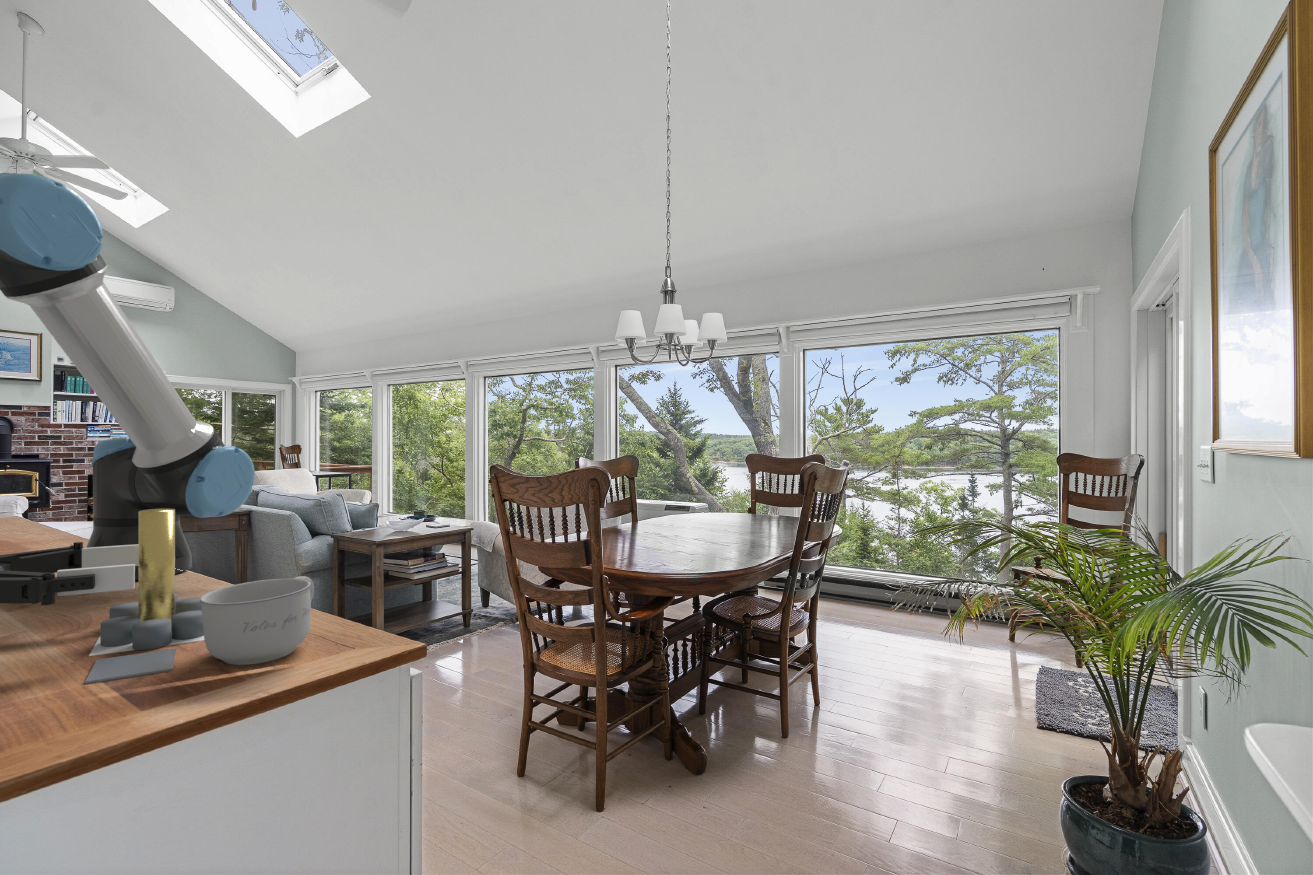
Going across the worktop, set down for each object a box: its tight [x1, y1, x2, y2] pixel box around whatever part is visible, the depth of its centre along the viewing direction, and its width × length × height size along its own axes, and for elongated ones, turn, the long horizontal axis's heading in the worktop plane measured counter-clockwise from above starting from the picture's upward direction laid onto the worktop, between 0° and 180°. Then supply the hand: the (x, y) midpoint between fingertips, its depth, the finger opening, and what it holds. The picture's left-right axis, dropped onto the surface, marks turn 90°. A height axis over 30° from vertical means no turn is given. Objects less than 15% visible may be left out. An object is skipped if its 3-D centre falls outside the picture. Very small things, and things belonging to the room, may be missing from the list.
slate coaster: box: [84, 648, 178, 685], centre depth 70 cm, size 7×7×1 cm
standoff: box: [137, 509, 176, 622], centre depth 81 cm, size 4×4×15 cm
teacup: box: [200, 575, 315, 666], centre depth 76 cm, size 14×11×8 cm
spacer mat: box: [88, 593, 205, 657], centre depth 82 cm, size 17×11×3 cm, turn 33°
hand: (142, 564), depth 80 cm, fingers open, 13 cm apart
